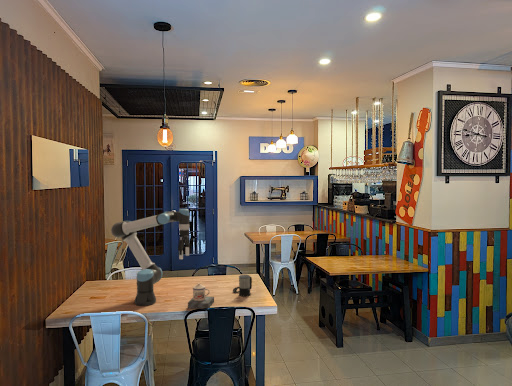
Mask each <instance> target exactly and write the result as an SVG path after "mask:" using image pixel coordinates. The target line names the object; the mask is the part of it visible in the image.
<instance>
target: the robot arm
mask: <svg viewBox="0 0 512 386" xmlns="http://www.w3.org/2000/svg"><path fill="white" fill-rule="evenodd" d="M171 222H173V223H174V222H175V223H176V222H178V235H180V236H179V239H178V246H177V251H178V256H179V257H178V258H179V259H178V260H183V259H184V251H183V249H184V245H185V256H186V257H188V256H190V248H191V241H190V226H191V225H190V210H189V209H188V208H179V209H178V211H169V210H168V211H164V212H162V213H159V214H157V215H152V216H148V217H144V218H140V219H136V220H133V221H131V220H123V221H119V222H115V223H114V224H113V225H112V226H111V229H110V231H111V234H112V235H113V237H114V238H116V239H117V238H118V239H120V238H121V239H122V241H123V242H125V243H126V244H127V246H128V248H129V250H130V251H131V252H132V253H131V254H133V256H134V257H135V259H136V261H137V262H138V264H139V266H140V267H141V268H140V269H141V270H139V271H138V272H137V273H136V296H135V298H134V305H136V306H139V307H140V306H141V307H145V306H151V305H154V304H155V303H156V302H157V297H156V294H155V292H154V285H155V284H157V283H159V281H160V280H161V279H162V277H163V270H162V268H161V267H159V266H157V265H156V263H155V262H153V261H152V260H151V258H150V257H149V255H148V253H147V252H146V250H145V248H144V247H143V245H142V243H141V242H140V240H139V238H138V236H137V235H138V233H137V231H142V230H145V229H148V228H154V227H157V226H161V225H165V224H168V223H171Z"/></svg>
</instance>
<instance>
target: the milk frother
mask: <svg viewBox="0 0 512 386" xmlns="http://www.w3.org/2000/svg"><path fill="white" fill-rule="evenodd" d="M252 282H253V279H252V277H251V275H250V274H241V275H238V286H236V287H234V288H233V289H232V292H233V294H238V296H240V297H249V296H251V290H252V284H253V283H252Z"/></svg>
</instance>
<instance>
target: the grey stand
mask: <svg viewBox="0 0 512 386" xmlns="http://www.w3.org/2000/svg"><path fill="white" fill-rule="evenodd" d="M214 303H215V296H209V295H207V296H205V300H203V301H194V300H193V297H192V298H190V300H189V301H188V302H187V308H188V309H198V310H202V309H201V308H209V309H210V308H211V307H212V305H214ZM210 306H211V307H210Z"/></svg>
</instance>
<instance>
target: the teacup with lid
mask: <svg viewBox="0 0 512 386" xmlns="http://www.w3.org/2000/svg"><path fill="white" fill-rule="evenodd" d="M206 291H208V292H207V293H206ZM209 294H210V289H208V288H206V286H205V285H203V284H201V283H199V282H198V283H197V284H196V285H194V286H192V296H193V297H192V298H193V300H194V301H203V300H205V296H209Z"/></svg>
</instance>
